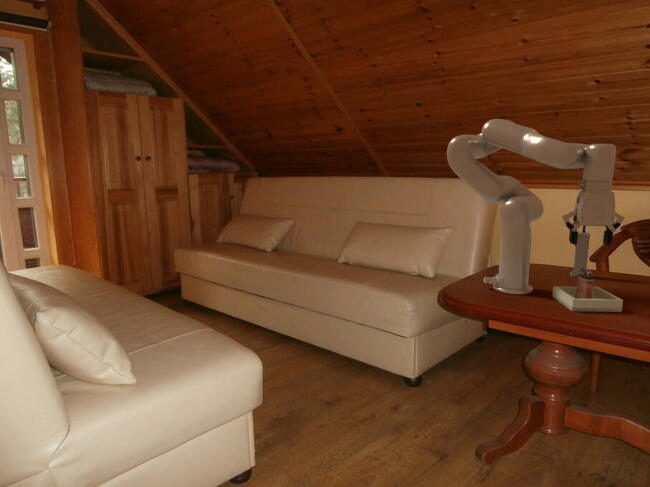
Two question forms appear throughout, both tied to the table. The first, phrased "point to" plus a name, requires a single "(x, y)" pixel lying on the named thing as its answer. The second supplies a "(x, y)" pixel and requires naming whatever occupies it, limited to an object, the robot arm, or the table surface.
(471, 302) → the table surface
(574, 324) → the table surface
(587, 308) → the tray
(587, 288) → the lighter
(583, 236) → the vintage mobile phone
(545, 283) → the table surface
